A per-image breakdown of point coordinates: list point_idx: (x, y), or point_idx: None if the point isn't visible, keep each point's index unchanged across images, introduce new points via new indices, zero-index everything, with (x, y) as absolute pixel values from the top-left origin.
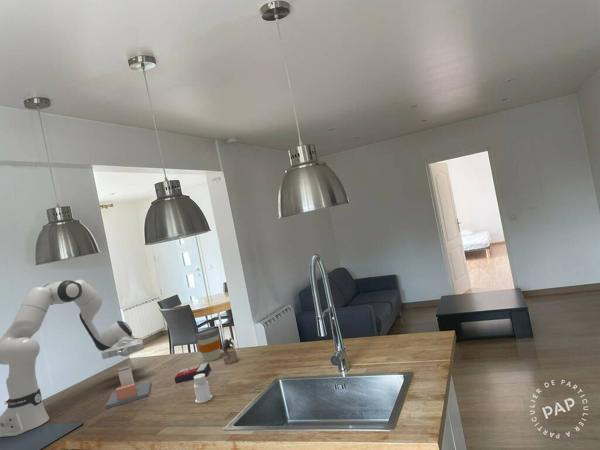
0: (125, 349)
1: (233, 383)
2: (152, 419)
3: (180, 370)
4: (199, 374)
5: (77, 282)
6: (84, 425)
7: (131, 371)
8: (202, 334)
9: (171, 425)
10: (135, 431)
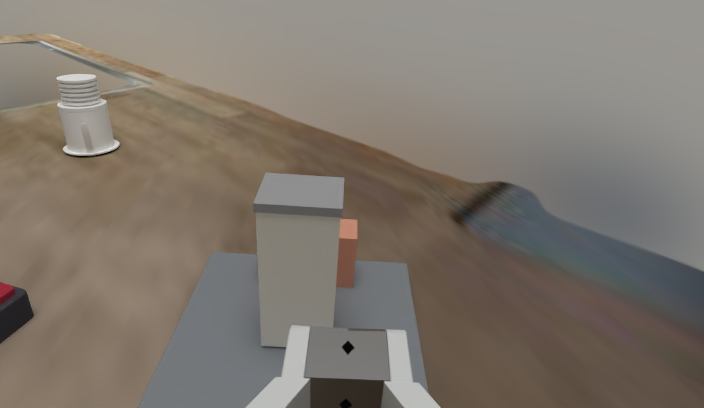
0: (254, 400)
1: None
2: (242, 144)
3: None
4: (68, 79)
5: None
6: (444, 210)
7: (258, 240)
8: None
9: (213, 116)
10: (284, 131)
